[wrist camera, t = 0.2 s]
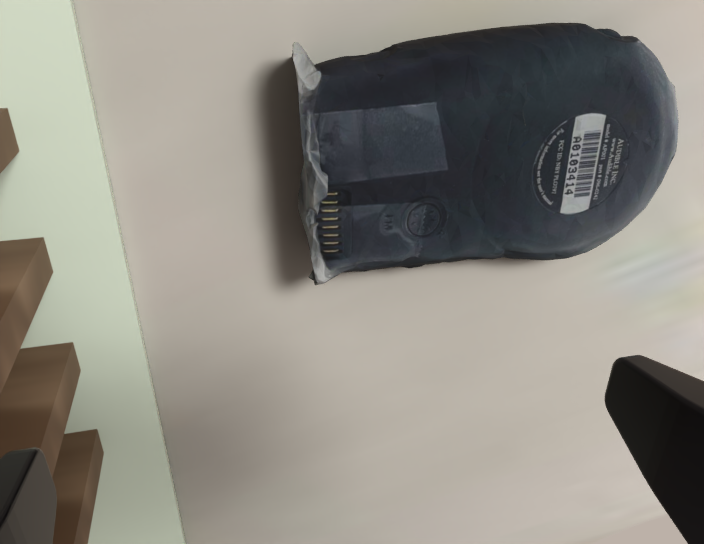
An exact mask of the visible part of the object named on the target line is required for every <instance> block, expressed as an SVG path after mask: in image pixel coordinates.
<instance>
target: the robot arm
mask: <svg viewBox="0 0 704 544" xmlns="http://www.w3.org/2000/svg"><path fill="white" fill-rule="evenodd" d="M605 405H606V408H607V410H608V412H609V414H610V416H611V418H612V420H613V421H614V423H615V425H616V427H617V429H618V431H619V432H620V434H621V436H622V438H623V440H624V441H625V443H626V445H627V447H628V449H629V451H630V452H631V454H632V456H633V458H634V460H635V461H636V463H637V465H638V467H639V469H640V471H641V472H642V474H643V476H644V478H645V479H646V481H647V483H648V484H649V486H650V488H651V489H652V491H653V493H654V494H655V496H656V497H657V499H658V500H659V502H660V503H661V505H662V506H663V508H664V509H665V511H666V512H667V514H668V515H669V516H670V518H671V519H672V521H673V522H674V524H675V525H676V527H677V528H678V530H679V531H680V532H681V534H682V536H683V537H684V538H685V540H686V541H687V543H688V544H704V381H702V380H700V379H697V378H695V377H692V376H690V375H688V374H685V373H683V372H680V371H678V370H676V369H673V368H671V367H668V366H666V365H664V364H661V363H659V362H656V361H654V360H652V359H649V358H647V357H644V356H641V355H634V356H627V357H621V358H618V359H617V360H616V361H615V362H614V363H613V366H612V370H611V373H610V377H609V381H608V385H607V389H606V393H605ZM56 507H57V494H56V488H55V485H54V482H53V479H52V476H51V473H50V470H49V467H48V464H47V461H46V458H45V455H44V453H43V452H42V450H41V449H39V448H36V447H34V448H27V449H21V450H14V451H10V452H8V453H6V454H5V455H3V456H2V457H1V458H0V544H53V535H54V526H55V517H56Z"/></svg>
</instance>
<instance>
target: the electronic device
mask: <svg viewBox="0 0 704 544" xmlns="http://www.w3.org/2000/svg"><path fill="white" fill-rule="evenodd" d="M292 57H293V61H294V64H295V69H296V76H297V83H298V94H299V111H300V128H301V138H302V148H303V156H304V165H303V169H302V173H301V182H300V190H299V201H298V211H299V214H300V217H301V220H302V223H303V226H304V229H305V232H306V235H307V238H308V242H309V248H310V253H311V259H312V264H313V271H312V273H311V275H310V276H309V278H310V279H312V280H314V283H315V285H319V284H322V283H325V282H327V281H328V280H330V279H332V278H333V277H335V276H337V275H338V274H340V273H342V272H352V271H369V270H375V269H382V268H390V267H406V268H413V267H420V266H423V265H425V264H434V263H441V262H454V261H460V260H466V259H496V258H501V257H507V258H514V259H530V260H554V259H564V258H569V257H573V256H576V255H579V254H582V253H586V252H588V251H590V250H592V249H594V248H596V247H597V246H599V245H601V244H602V243H604V242H606V241H607V240H609V239H610V238H611V237H613V236H614V235H615V234H617V233H618V232H619V231H621V230H622V229H623V228H625V227H626V226H627V225H628V224H629V223H630V222H631V221H632V220H633V219H634V218H635V217H636V216H637V215H638V214H639V213H640V212H641V211H642V210H644V209H645V208H646V206H647V205H648V203H649V202H650V200H651V199H652V197H653V195H654V194H655V192H656V190H657V189H658V187H659V186H660V184H661V182H662V180H663V178H664V176H665V174H666V172H667V170H668V167H669V165H670V163H671V161H672V159H673V157H674V155H675V152H676V147H677V136H678V110H677V102H676V93H675V86H674V85H673V84H672V83H671V82H670V81H669V79H668V77H667V76H666V73H665V71H664V69H663V68H662V66H661V64H660V62H659V61H658V59H657V58H656V56H655V55H654V54H653V52H652V51H651V50H649V49H648V48H647V47H646V46H645V45H644V44H643V43H642V42H641V41H640V40H639V39H638V38H636V37H633V36H620V35H619V34H618V33H617V32H616V31H614V30H611V29H594V28H592V27H590V26H588V25H586V24H581V23H546V24H535V25H521V26H511V27H499V28H491V29H483V30H476V31H469V32H461V33H453V34H448V35H442V36H435V37H428V38H422V39H416V40H411V41H405V42H402V43H398V44H394V45H392V46H391V47H388V48H385V49H383V50H381V51H380V52H375V53H370V54H367V55H359V56H344V57H340V58H336V59H332V60H328V61H325V62H322V63H319V64H316V65H314V64H313V63H312V61H311V60H310V58H309V57H308V55H307V53H306V52H305V50H304V49H303V48H302V47H301V45H300V44H299V43H297V42H294V44H293V54H292Z"/></svg>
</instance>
